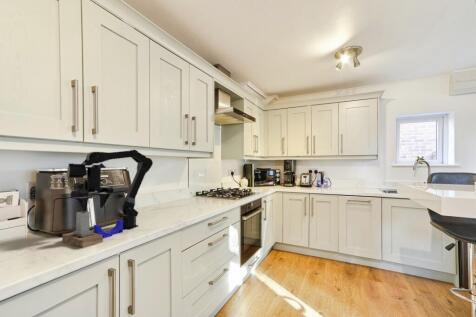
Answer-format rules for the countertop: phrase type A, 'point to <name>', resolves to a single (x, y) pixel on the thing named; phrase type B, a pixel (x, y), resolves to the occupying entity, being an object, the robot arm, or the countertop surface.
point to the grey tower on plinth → (82, 225)
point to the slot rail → (82, 240)
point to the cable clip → (115, 230)
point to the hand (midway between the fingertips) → (93, 209)
